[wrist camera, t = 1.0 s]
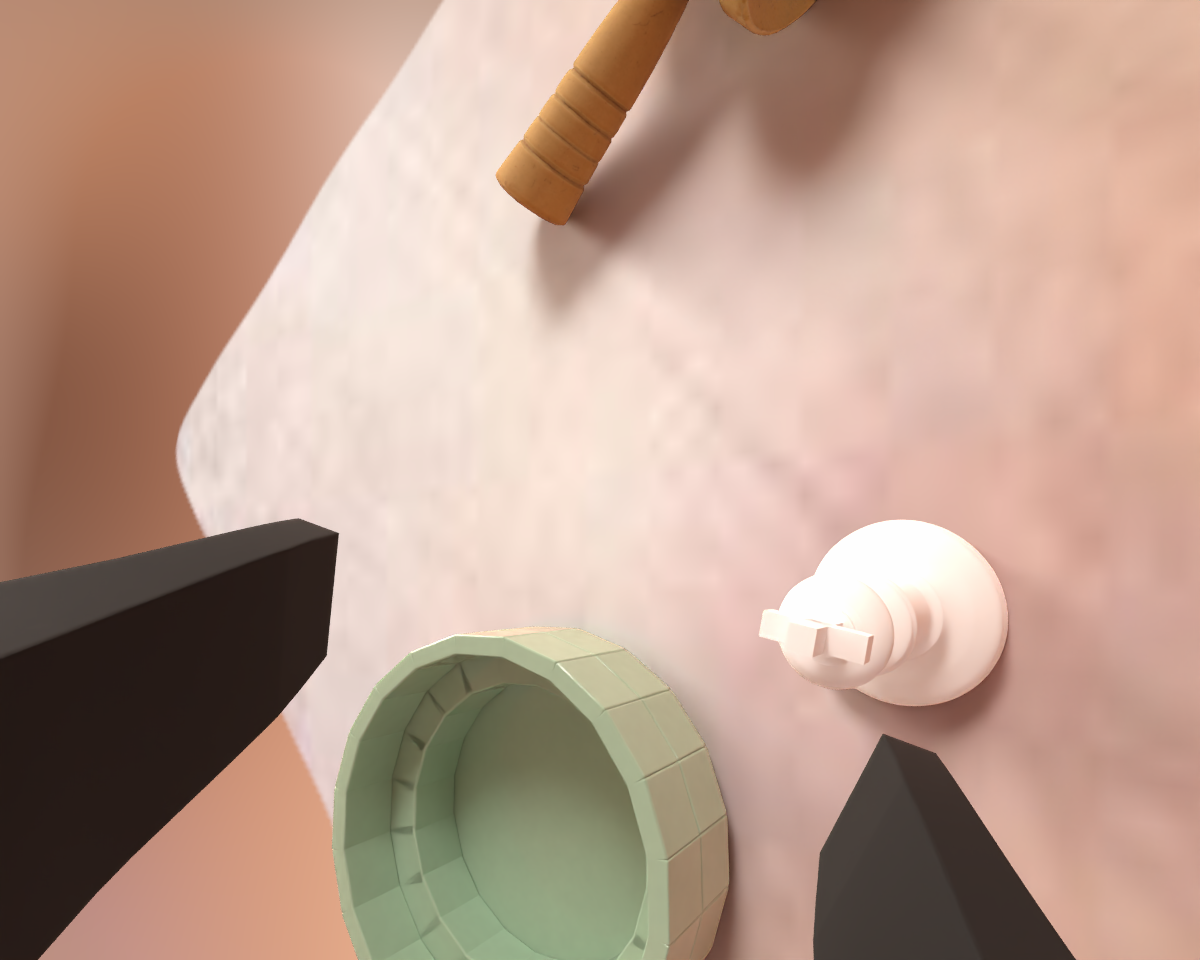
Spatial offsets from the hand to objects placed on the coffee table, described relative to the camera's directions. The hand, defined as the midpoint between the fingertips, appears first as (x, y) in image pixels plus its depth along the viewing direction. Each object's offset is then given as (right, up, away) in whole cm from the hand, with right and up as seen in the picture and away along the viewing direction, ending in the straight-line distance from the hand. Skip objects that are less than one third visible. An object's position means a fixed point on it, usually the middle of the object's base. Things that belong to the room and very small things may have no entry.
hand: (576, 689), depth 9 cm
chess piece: (+9, -1, +10) cm, 14 cm away
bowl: (-1, -8, +15) cm, 17 cm away
